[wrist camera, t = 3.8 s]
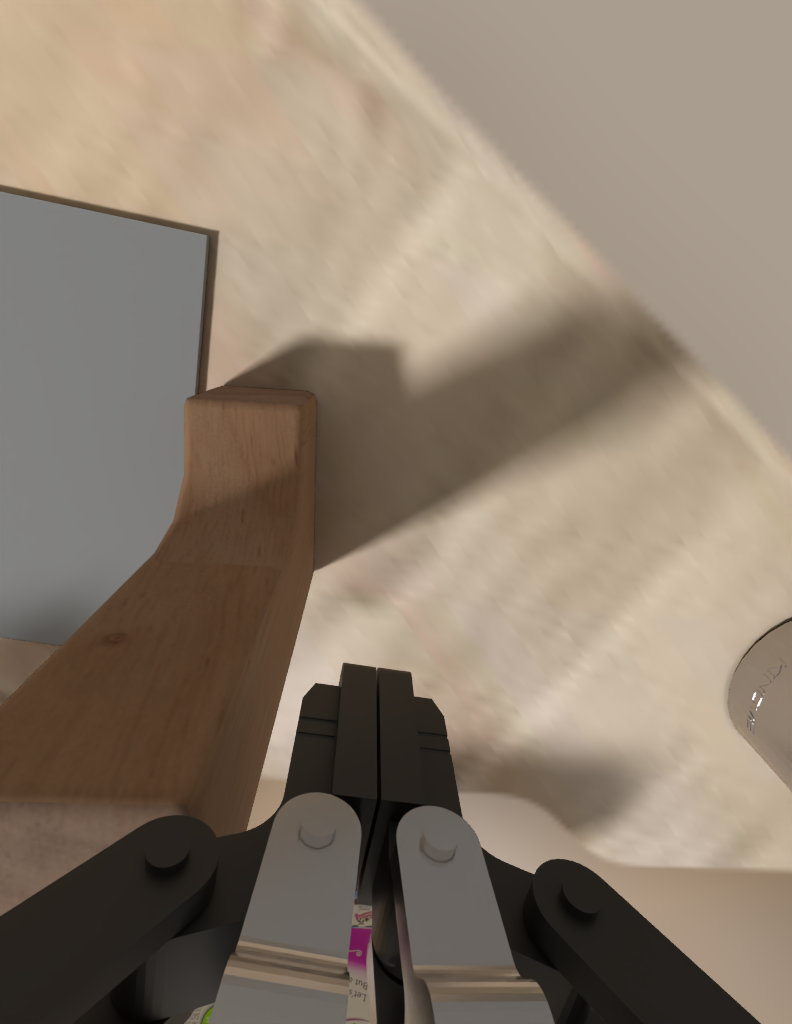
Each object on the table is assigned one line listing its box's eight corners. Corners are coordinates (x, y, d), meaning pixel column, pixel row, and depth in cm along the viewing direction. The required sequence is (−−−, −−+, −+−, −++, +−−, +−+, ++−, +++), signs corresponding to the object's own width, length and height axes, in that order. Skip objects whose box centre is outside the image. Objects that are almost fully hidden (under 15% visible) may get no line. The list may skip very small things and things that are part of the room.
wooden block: (215, 384, 24) (-191, 517, 7) (318, 390, 24) (176, 535, 7) (222, 571, 27) (-51, 998, 10) (314, 575, 27) (207, 998, 10)
